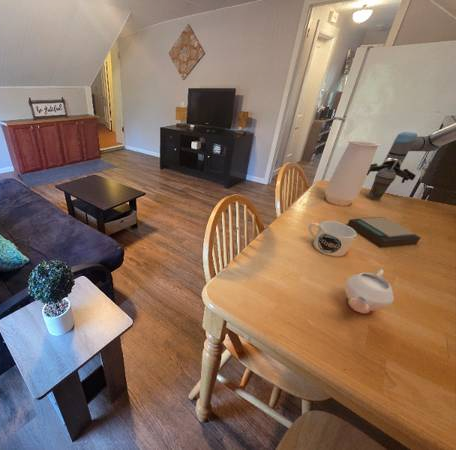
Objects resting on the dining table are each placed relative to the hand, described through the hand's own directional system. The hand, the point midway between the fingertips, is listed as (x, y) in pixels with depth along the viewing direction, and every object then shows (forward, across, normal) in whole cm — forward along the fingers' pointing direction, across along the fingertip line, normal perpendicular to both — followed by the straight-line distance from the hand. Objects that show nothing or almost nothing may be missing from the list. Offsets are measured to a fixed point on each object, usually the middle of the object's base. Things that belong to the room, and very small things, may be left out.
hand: (385, 176), depth 117 cm
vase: (+19, +12, -11) cm, 25 cm away
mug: (+64, +6, -11) cm, 66 cm away
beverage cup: (+3, 0, -11) cm, 11 cm away
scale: (+40, -7, -11) cm, 42 cm away
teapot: (+87, -8, -11) cm, 88 cm away
